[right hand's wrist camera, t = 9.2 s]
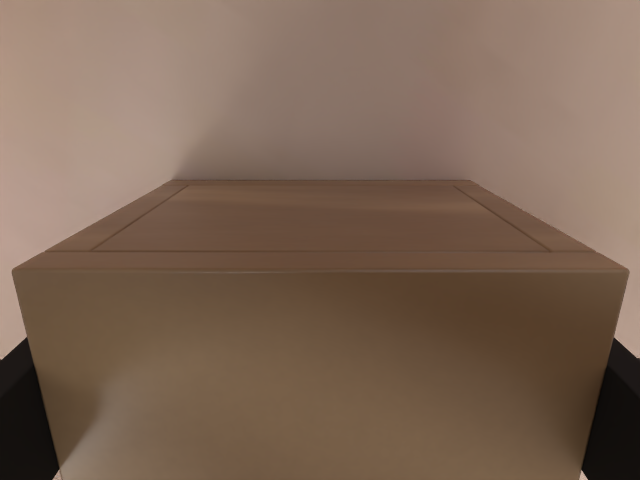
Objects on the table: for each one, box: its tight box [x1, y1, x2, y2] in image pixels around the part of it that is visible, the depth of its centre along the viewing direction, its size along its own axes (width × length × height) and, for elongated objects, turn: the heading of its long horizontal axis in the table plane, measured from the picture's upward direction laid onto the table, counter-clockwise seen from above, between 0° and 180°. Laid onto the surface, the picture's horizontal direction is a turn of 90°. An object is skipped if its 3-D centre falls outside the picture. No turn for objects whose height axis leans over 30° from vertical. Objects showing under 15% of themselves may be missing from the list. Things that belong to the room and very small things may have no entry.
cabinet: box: [12, 180, 629, 480], centre depth 15 cm, size 17×12×9 cm
